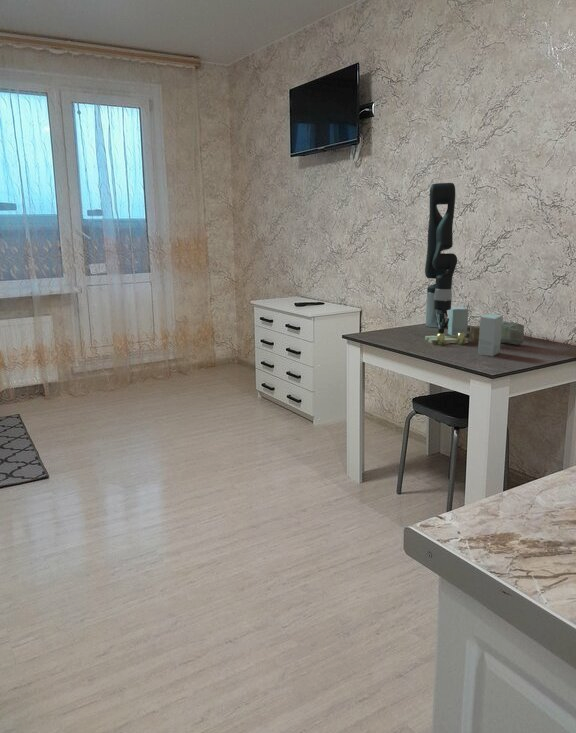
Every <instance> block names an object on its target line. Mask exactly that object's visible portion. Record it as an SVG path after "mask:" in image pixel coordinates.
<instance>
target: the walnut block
mask: <svg viewBox="0 0 576 733" xmlns="http://www.w3.org/2000/svg"><path fill="white" fill-rule="evenodd" d="M469 327H470V328H469V339H468V340H470V341H472V342H479V331H480V325H473V326H471V325H470V326H469Z"/></svg>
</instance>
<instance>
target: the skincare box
mask: <svg viewBox="0 0 576 733" xmlns="http://www.w3.org/2000/svg"><path fill="white" fill-rule="evenodd" d="M503 316H504V315H502V314H493V313H486V314H484V315H482V316H480V321H479V326H480V331H479V341H478V345H477V346H478V347H477V355H478V356H479V355H480V356H486V357H495V356H496V355H498V354H499V353H500V350H501V330H502V321H503V318H504V317H503Z"/></svg>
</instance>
